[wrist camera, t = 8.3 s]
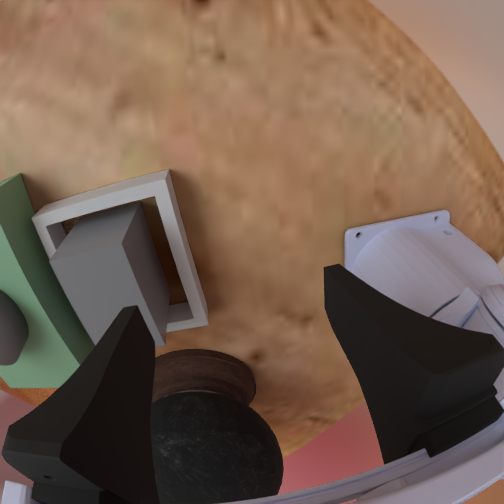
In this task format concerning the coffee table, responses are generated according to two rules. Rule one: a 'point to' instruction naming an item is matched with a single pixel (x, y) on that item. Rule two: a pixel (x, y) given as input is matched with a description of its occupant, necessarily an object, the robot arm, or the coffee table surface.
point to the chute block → (113, 271)
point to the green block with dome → (49, 288)
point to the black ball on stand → (210, 431)
